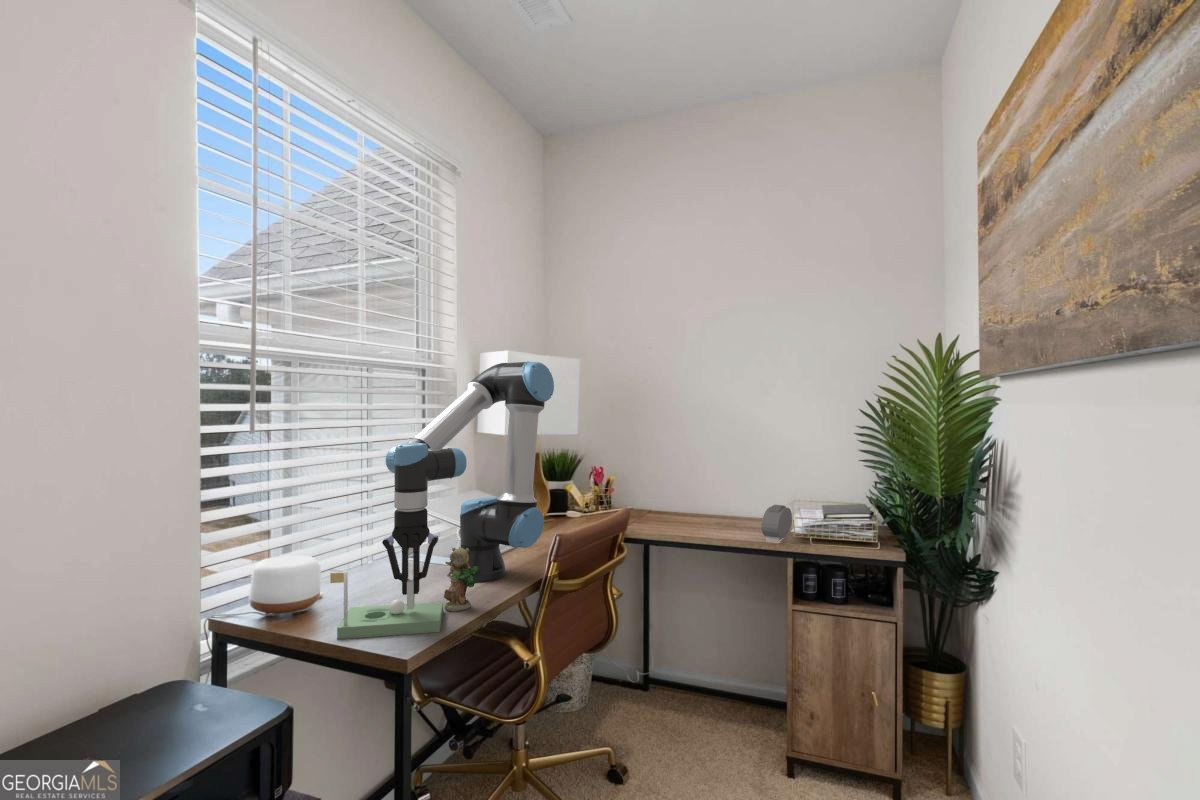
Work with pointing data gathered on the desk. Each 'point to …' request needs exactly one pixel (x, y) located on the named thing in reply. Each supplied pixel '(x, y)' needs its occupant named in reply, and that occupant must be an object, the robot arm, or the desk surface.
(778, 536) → the alarm clock
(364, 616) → the green
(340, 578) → the flag
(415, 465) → the robot arm
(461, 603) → the figurine
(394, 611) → the ball
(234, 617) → the desk surface
